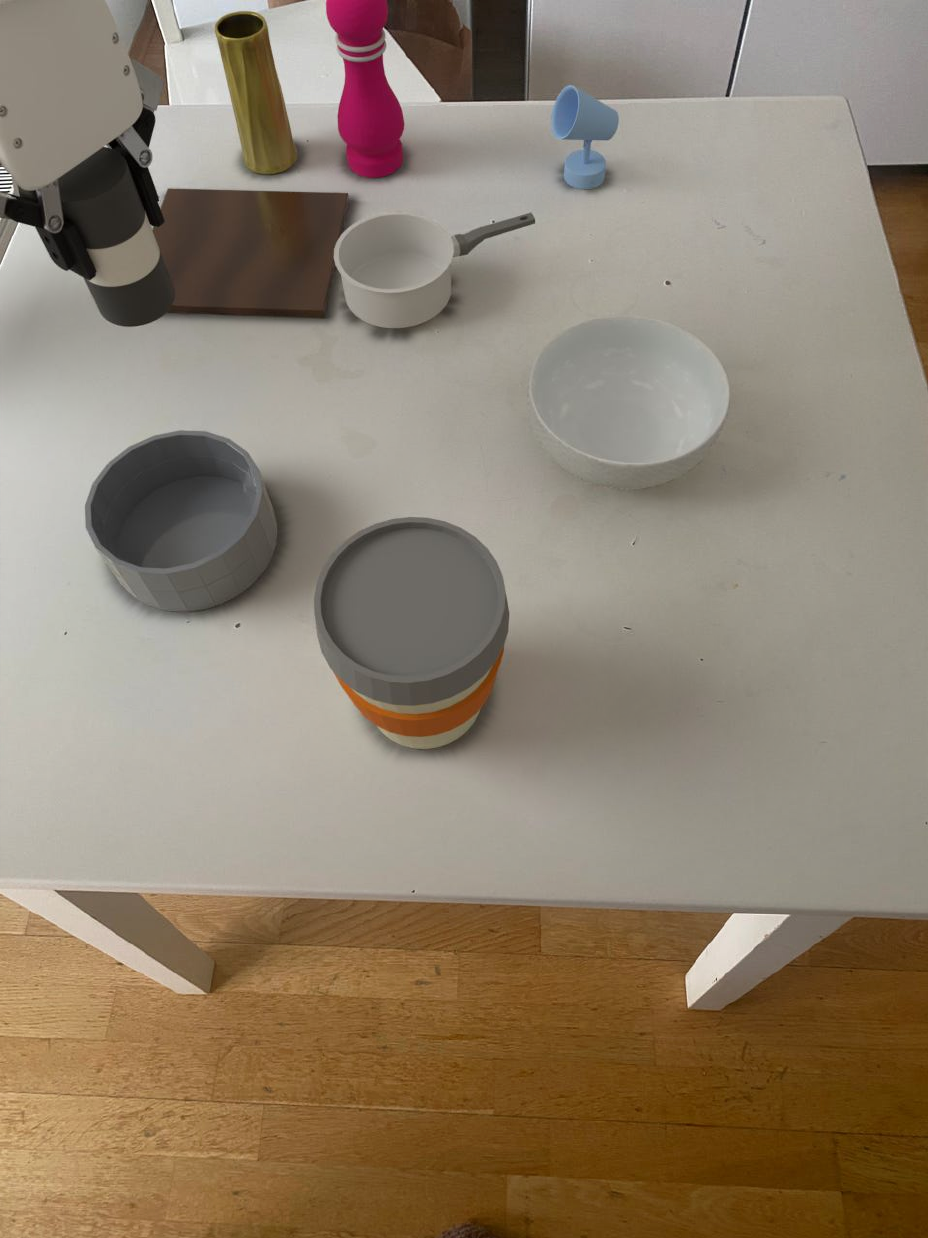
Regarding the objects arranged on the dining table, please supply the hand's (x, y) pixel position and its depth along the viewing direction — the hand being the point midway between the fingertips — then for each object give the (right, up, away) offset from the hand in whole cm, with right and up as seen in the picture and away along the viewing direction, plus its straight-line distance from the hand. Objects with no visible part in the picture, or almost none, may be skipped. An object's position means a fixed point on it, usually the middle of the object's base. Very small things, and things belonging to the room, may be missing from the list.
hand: (112, 241), depth 60 cm
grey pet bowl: (+1, -19, +16) cm, 25 cm away
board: (+1, +13, +34) cm, 36 cm away
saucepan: (+21, +8, +31) cm, 38 cm away
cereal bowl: (+38, -9, +20) cm, 44 cm away
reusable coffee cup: (+21, -31, +9) cm, 39 cm away
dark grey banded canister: (0, -2, +4) cm, 5 cm away
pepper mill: (+14, +26, +41) cm, 50 cm away
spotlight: (+37, +23, +38) cm, 58 cm away
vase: (+2, +27, +42) cm, 49 cm away
